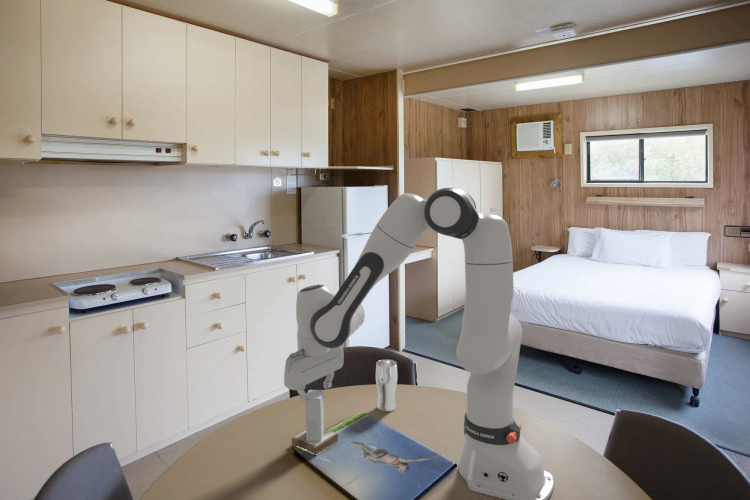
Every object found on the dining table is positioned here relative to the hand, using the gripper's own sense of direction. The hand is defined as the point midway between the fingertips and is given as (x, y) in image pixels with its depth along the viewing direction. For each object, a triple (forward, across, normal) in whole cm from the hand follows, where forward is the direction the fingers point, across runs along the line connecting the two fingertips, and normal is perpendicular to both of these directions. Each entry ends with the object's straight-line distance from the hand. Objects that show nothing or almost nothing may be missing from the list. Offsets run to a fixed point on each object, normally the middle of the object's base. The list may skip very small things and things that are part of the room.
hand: (316, 393), depth 128 cm
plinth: (+15, 0, +1) cm, 15 cm away
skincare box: (+12, -1, 0) cm, 12 cm away
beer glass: (+15, +29, -3) cm, 33 cm away
